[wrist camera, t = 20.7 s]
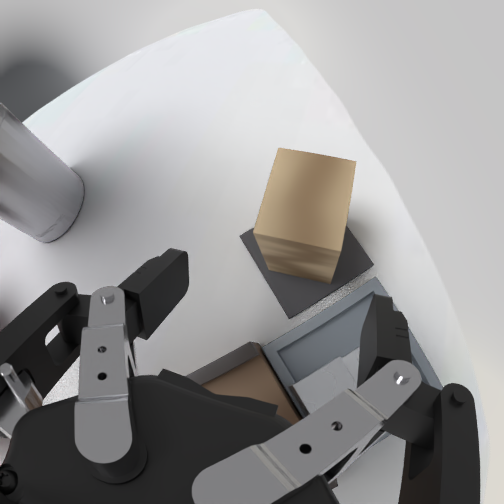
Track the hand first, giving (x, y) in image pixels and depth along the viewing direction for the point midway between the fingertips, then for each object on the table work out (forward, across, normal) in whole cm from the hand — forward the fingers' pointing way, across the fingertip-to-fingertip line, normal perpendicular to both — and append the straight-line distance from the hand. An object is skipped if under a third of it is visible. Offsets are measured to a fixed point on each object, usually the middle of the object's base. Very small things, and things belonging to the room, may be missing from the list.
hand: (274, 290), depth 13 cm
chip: (+4, -4, +11) cm, 13 cm away
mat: (+13, 0, +4) cm, 13 cm away
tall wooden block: (+13, 0, +4) cm, 13 cm away
